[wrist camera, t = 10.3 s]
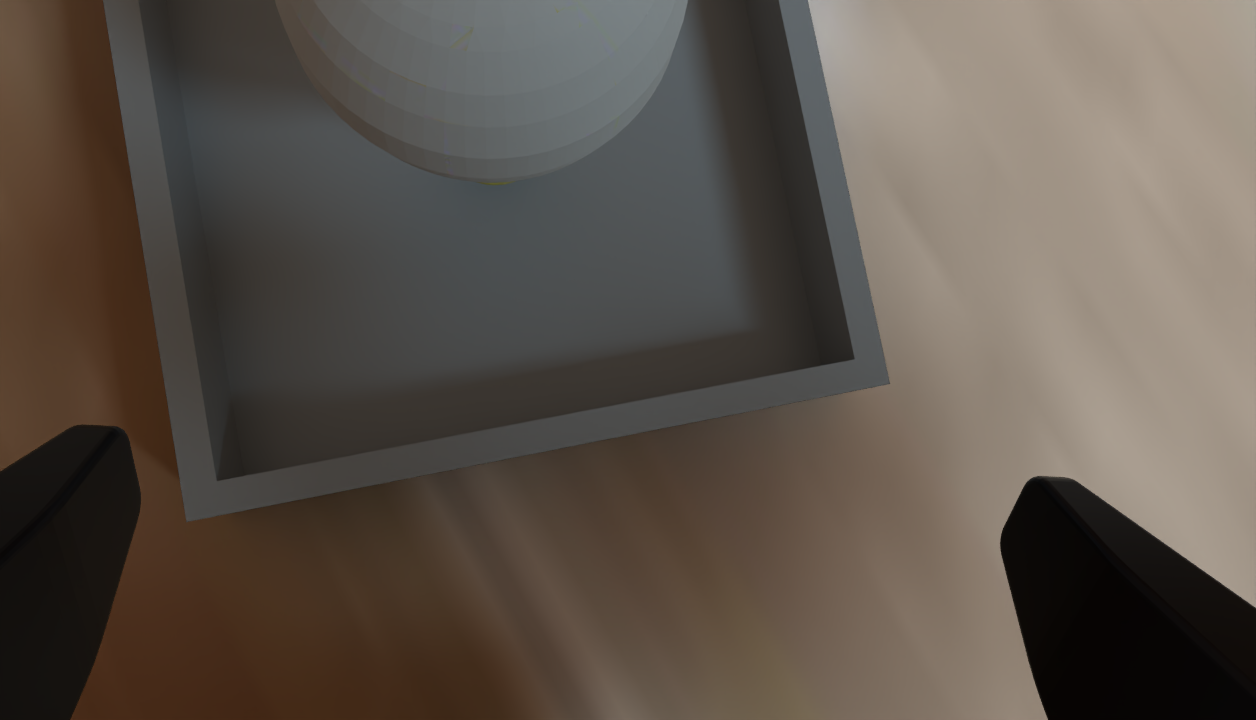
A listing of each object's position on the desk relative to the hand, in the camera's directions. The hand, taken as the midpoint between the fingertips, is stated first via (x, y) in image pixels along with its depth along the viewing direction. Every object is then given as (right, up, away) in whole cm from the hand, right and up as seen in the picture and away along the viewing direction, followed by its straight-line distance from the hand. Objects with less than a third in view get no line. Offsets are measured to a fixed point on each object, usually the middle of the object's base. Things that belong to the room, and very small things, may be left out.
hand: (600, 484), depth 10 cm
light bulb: (-3, +6, +11) cm, 12 cm away
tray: (-3, +6, +11) cm, 13 cm away
